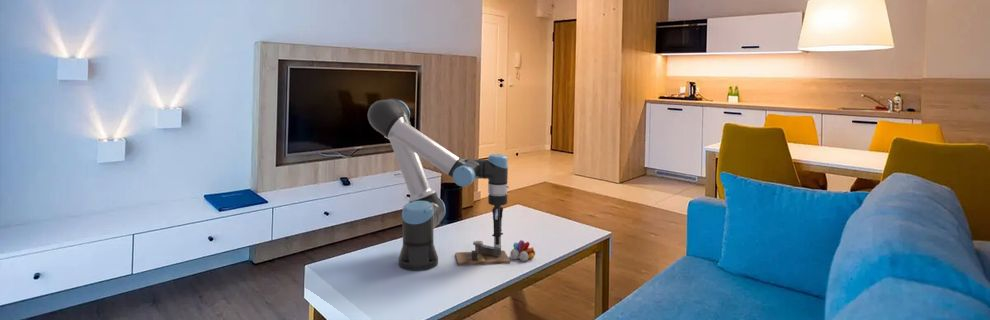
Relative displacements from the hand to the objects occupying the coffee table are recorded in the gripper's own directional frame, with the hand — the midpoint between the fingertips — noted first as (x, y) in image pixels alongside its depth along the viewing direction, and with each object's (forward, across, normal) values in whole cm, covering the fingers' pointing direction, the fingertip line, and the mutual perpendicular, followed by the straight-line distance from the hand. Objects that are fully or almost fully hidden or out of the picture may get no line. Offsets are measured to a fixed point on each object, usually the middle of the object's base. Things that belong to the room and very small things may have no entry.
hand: (497, 251), depth 213 cm
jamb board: (+2, -3, +6) cm, 7 cm away
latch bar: (+1, -1, +3) cm, 3 cm away
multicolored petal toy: (+3, 0, -10) cm, 10 cm away
